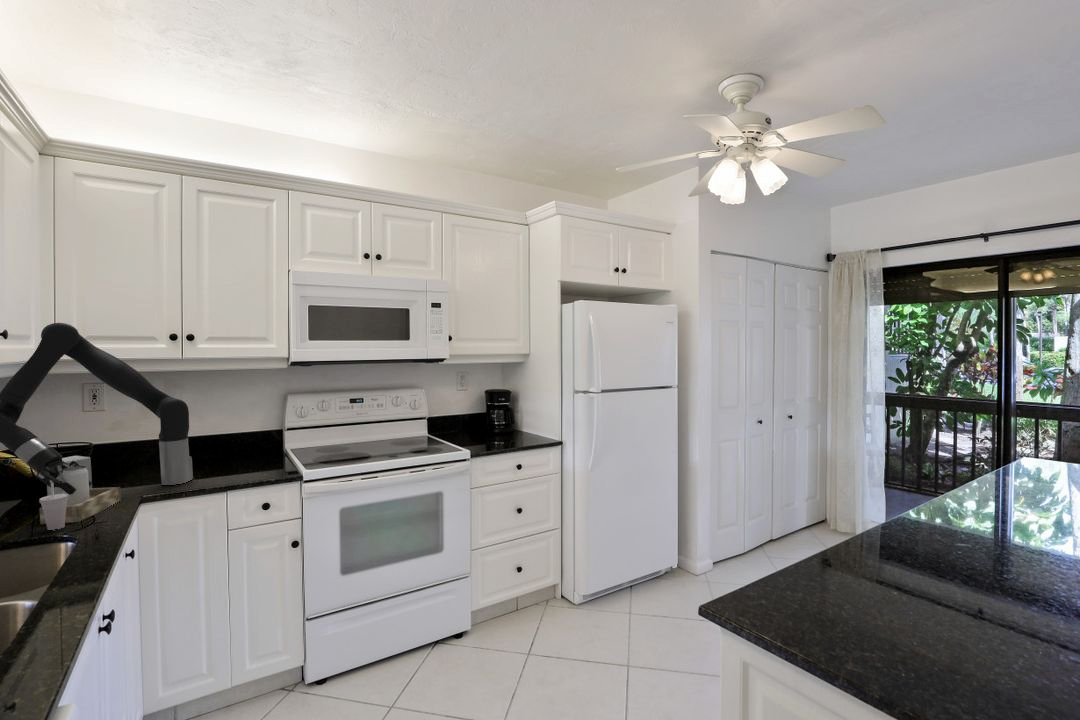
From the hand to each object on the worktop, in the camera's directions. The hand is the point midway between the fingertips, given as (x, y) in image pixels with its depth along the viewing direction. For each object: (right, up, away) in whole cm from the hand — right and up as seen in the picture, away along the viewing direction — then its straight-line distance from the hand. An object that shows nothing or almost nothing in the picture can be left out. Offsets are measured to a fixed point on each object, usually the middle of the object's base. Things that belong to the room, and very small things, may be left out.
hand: (81, 489), depth 169 cm
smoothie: (+4, -9, -14) cm, 17 cm away
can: (-2, -5, 0) cm, 5 cm away
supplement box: (-15, -7, +12) cm, 20 cm away
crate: (0, -8, 0) cm, 8 cm away
